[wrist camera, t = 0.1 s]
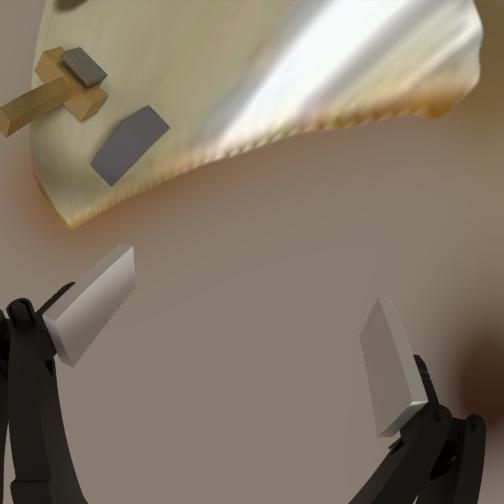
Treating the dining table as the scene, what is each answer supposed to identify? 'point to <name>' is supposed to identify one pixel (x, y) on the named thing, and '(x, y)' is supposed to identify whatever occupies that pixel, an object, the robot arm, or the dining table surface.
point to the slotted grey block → (128, 144)
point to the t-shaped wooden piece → (52, 95)
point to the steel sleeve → (83, 66)
